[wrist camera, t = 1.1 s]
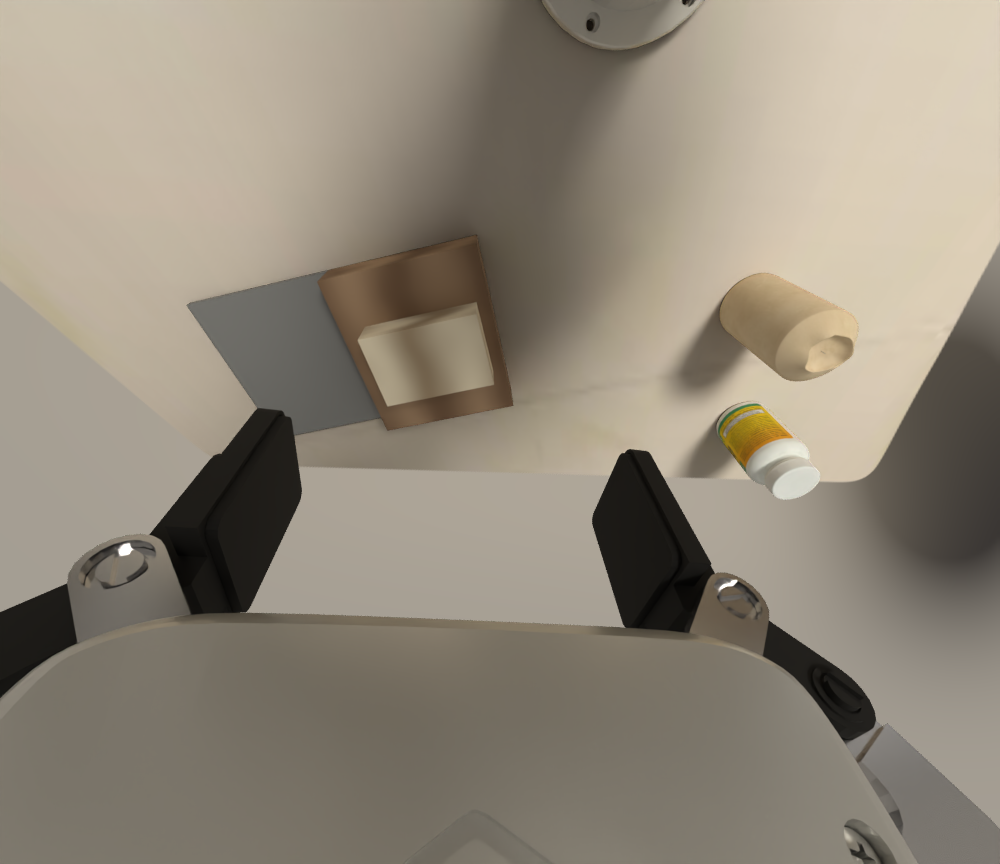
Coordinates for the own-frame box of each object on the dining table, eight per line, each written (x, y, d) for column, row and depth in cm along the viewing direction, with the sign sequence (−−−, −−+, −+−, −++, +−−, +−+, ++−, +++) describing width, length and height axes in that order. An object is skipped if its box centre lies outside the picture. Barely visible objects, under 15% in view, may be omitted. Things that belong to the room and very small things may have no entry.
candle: (721, 343, 38) (787, 402, 30) (714, 289, 35) (786, 339, 27) (784, 319, 36) (871, 373, 28) (783, 260, 33) (880, 303, 25)
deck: (476, 234, 31) (476, 244, 29) (510, 388, 39) (513, 405, 37) (328, 269, 32) (316, 281, 30) (392, 412, 41) (387, 430, 38)
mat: (328, 269, 32) (326, 271, 32) (392, 412, 41) (391, 415, 40) (190, 302, 33) (186, 305, 33) (280, 435, 42) (278, 438, 41)
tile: (476, 302, 31) (476, 314, 29) (493, 369, 35) (494, 384, 33) (364, 326, 32) (357, 340, 30) (392, 390, 36) (387, 406, 34)
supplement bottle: (777, 409, 43) (844, 471, 35) (740, 446, 45) (794, 511, 38) (739, 392, 41) (800, 453, 33) (703, 431, 44) (751, 496, 36)
